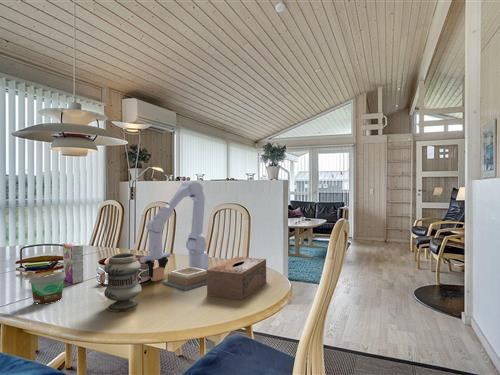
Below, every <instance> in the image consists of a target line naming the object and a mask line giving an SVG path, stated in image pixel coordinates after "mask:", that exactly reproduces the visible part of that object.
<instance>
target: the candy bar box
mask: <svg viewBox="0 0 500 375" xmlns="http://www.w3.org/2000/svg"><path fill="white" fill-rule="evenodd" d="M83 248H84V247H83V245H82V244H80V243H76V242H67V243H66V242H65V243H62V261H63V267H62V268H63V270H64V272H65V275H66V277H65V278H64V281H66V282H68V283H70V284H72V285H76V284H78V283H84V255H83V254H84V253H83V252H84V250H83ZM75 283H76V284H75Z"/></svg>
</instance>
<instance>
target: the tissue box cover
mask: <svg viewBox="0 0 500 375" xmlns="http://www.w3.org/2000/svg"><path fill="white" fill-rule="evenodd" d="M209 268H210V269H208V270H207V284H206V295H207V296H208V297H215V298H223V299H231V300H236V301H237V300H238V301H243V300H244V299H245V298H246V297H248V296H249V295H251V292H252V293H253V292H254V291H256V290H257V289H258V288H260V287H261V286H262V285H263V284H265V283H266V282H267V258H261V257H260V258H259V257H247V256H245V257H244V256H234V257H232V258H230V259H228V260H226V261H223V262H222V263H219V264H217V265H215V266H213V267H209ZM265 281H266V282H265ZM264 282H265V283H264ZM260 285H261V286H260ZM256 288H257V289H256ZM255 289H256V290H255Z"/></svg>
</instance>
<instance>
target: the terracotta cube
mask: <svg viewBox="0 0 500 375" xmlns="http://www.w3.org/2000/svg"><path fill="white" fill-rule="evenodd" d="M164 279H165V269H164V268H163V267H159V265H155V266H153V277H152V278H151V280H150V281H152V282H156V281H161V280H164Z"/></svg>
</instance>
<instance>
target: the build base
mask: <svg viewBox="0 0 500 375" xmlns="http://www.w3.org/2000/svg"><path fill="white" fill-rule="evenodd" d="M162 284H164V285H168V286H170V287H174V288H176V289H180V290H182V291H183V290H184V291H189V290H193V289H196V288H199V287H202V286H207V270H204V269H199V268H195V267H189V266H187V267H184V268H179V269H175V270H171V271H170V272H168V273H167V279H165V280H164V279H163V280H162Z"/></svg>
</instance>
